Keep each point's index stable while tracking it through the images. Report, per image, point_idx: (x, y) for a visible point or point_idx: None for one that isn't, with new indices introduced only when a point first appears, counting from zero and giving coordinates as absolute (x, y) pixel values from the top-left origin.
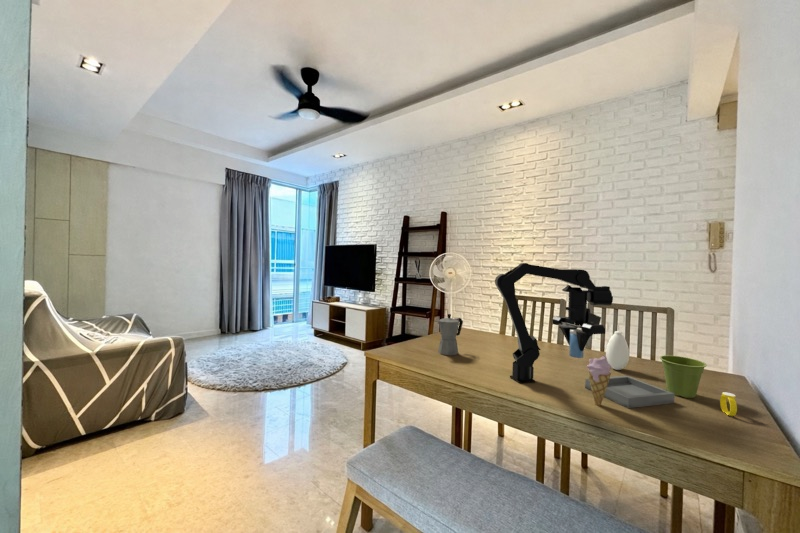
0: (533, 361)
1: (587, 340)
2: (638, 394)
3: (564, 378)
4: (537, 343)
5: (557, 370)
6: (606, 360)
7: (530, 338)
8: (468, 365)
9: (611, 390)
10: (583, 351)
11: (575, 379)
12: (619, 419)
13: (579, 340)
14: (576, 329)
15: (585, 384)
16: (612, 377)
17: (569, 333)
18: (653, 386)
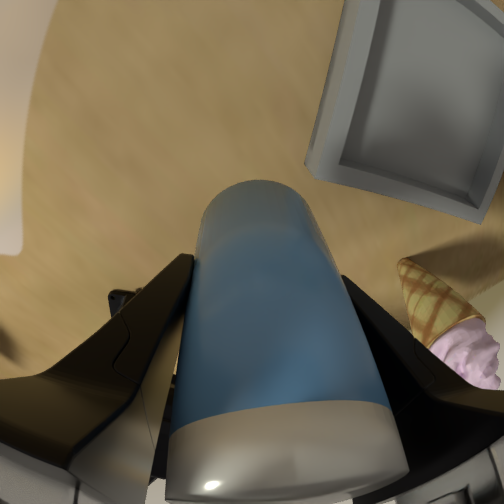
0: None
1: (427, 355)
2: (465, 78)
3: (168, 147)
4: None
5: (65, 89)
6: (496, 369)
7: (153, 480)
8: (27, 351)
9: (438, 208)
10: (322, 235)
11: (200, 101)
12: (453, 286)
13: None
14: (238, 499)
15: (309, 169)
16: (366, 12)
17: (151, 428)
18: (490, 9)
